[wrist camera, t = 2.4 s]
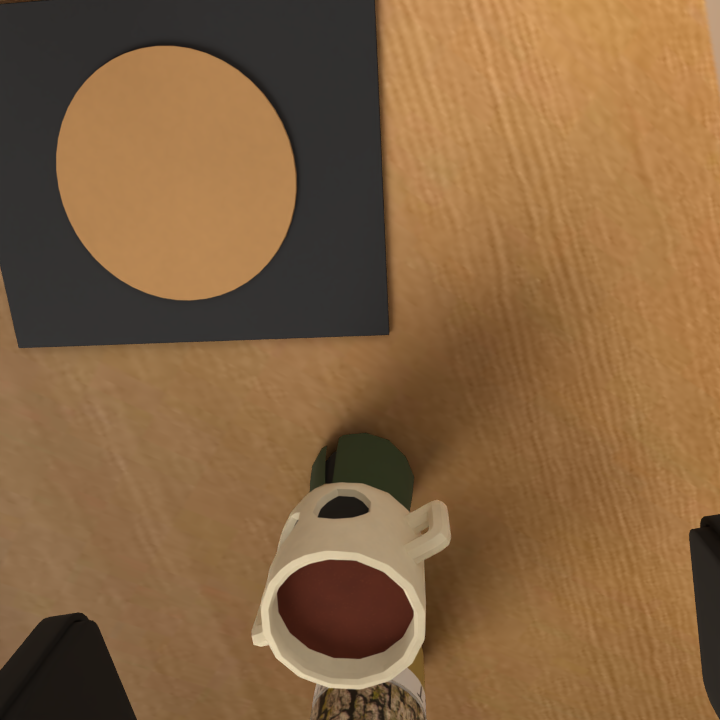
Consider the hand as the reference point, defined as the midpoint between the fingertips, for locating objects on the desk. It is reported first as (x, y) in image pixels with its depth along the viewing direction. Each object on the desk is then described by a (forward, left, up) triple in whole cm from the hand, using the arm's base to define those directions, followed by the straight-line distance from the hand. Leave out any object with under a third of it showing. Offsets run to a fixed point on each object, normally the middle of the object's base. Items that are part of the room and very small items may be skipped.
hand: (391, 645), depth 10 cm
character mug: (-3, -11, -27) cm, 29 cm away
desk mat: (-12, +7, -27) cm, 30 cm away
